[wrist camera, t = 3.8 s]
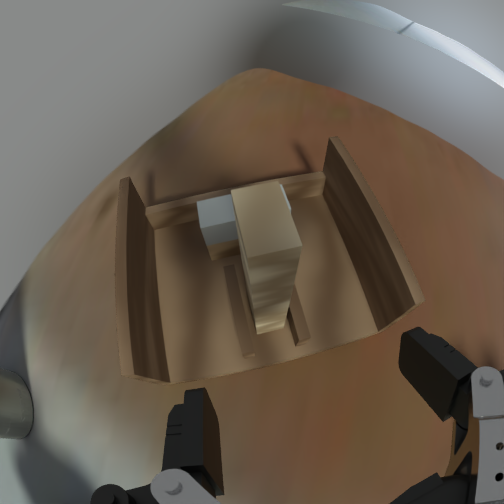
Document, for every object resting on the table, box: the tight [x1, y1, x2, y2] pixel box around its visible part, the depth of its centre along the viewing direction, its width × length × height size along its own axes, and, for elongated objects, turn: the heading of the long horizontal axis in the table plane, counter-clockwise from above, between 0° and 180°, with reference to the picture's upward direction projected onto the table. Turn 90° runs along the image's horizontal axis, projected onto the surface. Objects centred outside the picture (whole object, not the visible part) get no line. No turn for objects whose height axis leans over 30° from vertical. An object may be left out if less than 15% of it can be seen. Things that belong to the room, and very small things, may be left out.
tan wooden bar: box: [231, 181, 302, 334], centre depth 20 cm, size 2×4×15 cm, turn 13°
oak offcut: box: [207, 239, 241, 260], centre depth 29 cm, size 8×3×3 cm, turn 103°
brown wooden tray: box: [115, 137, 426, 385], centre depth 26 cm, size 22×18×9 cm
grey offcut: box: [197, 184, 291, 246], centre depth 27 cm, size 8×3×3 cm, turn 103°
